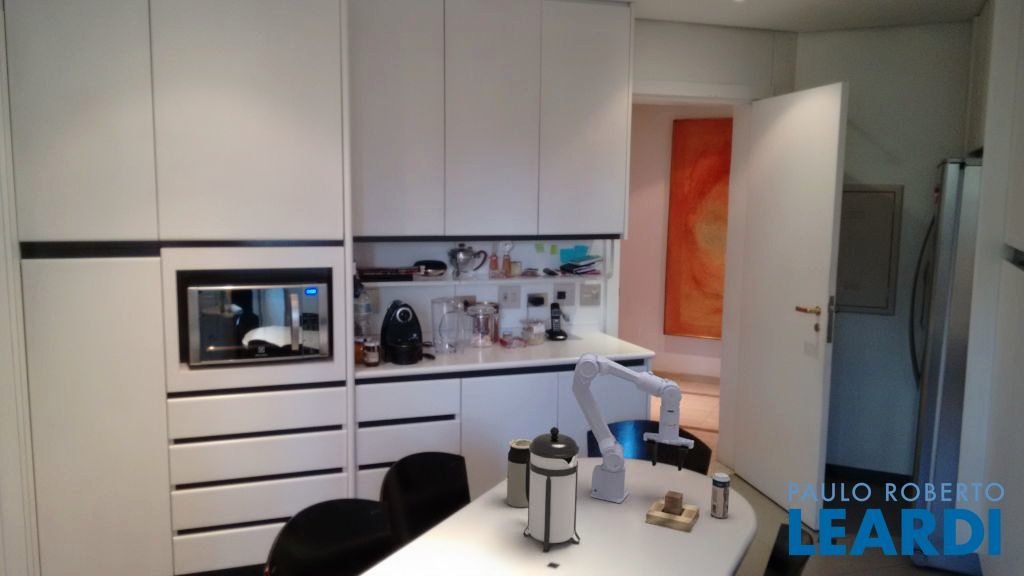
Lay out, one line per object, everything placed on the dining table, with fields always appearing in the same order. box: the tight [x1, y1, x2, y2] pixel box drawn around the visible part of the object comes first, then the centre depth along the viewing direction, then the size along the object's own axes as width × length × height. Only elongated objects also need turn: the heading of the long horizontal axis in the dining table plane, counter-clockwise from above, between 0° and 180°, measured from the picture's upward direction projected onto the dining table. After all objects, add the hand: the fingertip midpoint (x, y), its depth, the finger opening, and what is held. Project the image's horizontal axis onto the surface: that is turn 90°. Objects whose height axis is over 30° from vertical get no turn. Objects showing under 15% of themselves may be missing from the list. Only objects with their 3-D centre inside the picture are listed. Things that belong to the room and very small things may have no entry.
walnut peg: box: [664, 490, 684, 516], centre depth 190 cm, size 4×4×7 cm
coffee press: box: [522, 426, 581, 553], centre depth 176 cm, size 17×16×30 cm
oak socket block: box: [645, 498, 701, 533], centre depth 191 cm, size 12×12×2 cm
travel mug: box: [506, 438, 533, 509], centre depth 198 cm, size 8×8×18 cm
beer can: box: [710, 471, 731, 519], centre depth 193 cm, size 5×5×12 cm
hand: (667, 467), depth 202 cm, fingers open, 7 cm apart
